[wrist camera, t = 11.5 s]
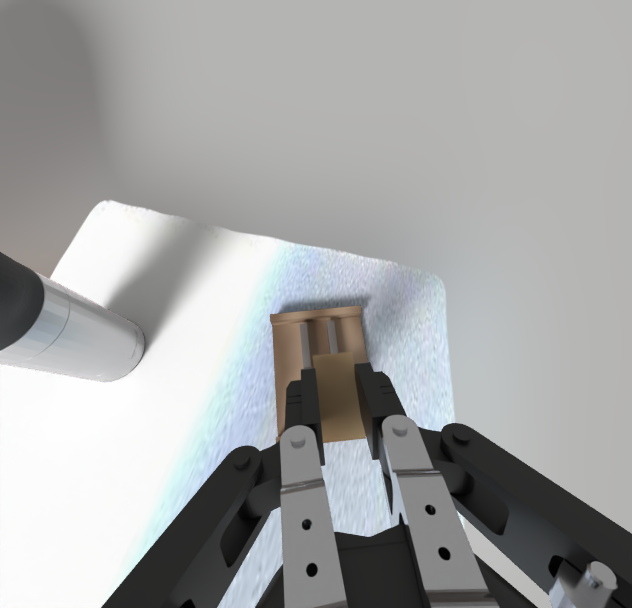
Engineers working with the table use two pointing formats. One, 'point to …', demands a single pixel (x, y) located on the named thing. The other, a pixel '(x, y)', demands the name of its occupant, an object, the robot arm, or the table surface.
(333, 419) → the oak slat
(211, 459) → the table surface
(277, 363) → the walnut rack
